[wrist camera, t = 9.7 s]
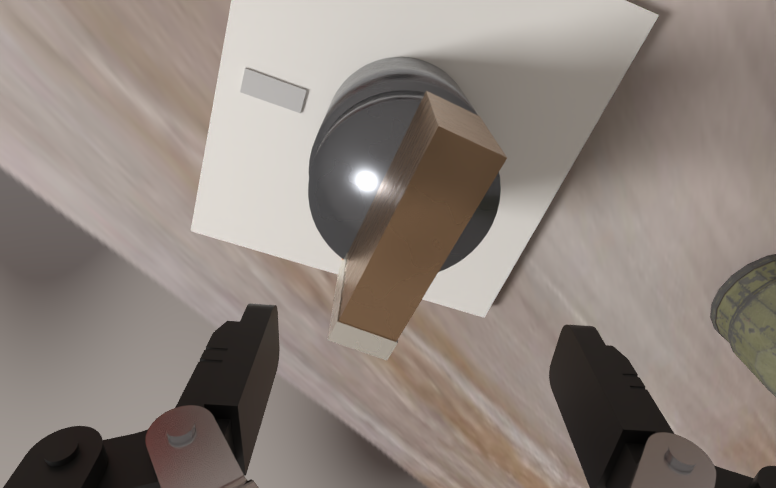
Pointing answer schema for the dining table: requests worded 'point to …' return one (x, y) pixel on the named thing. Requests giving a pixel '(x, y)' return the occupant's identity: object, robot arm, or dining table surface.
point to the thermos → (750, 317)
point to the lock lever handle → (399, 206)
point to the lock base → (467, 38)
